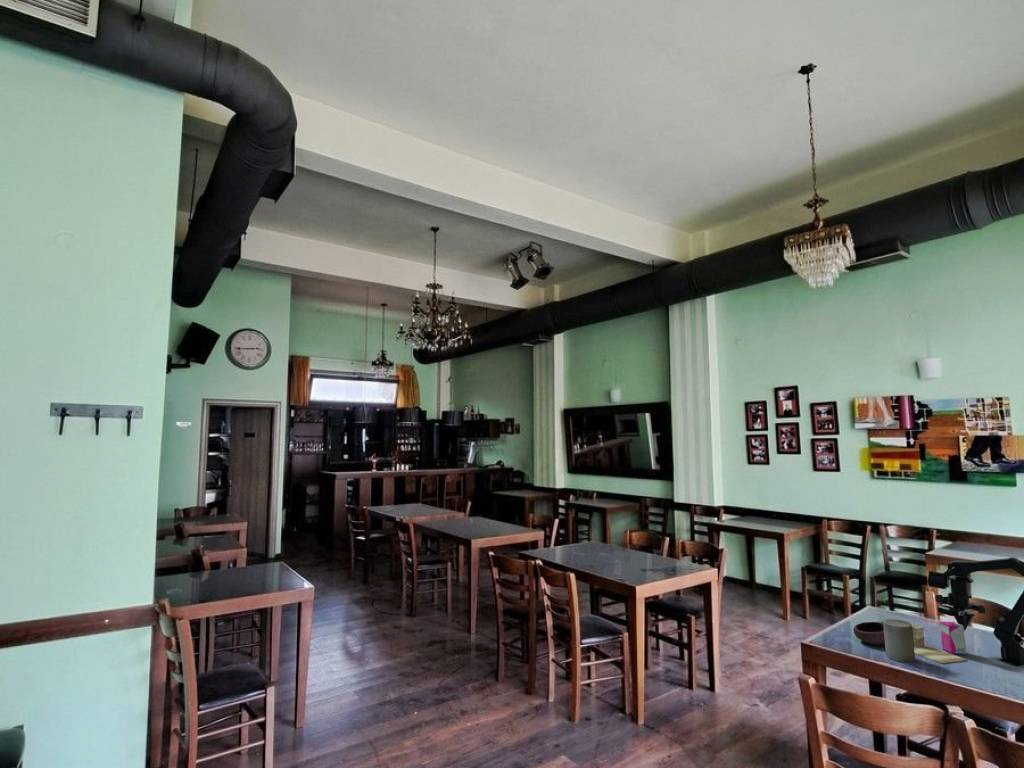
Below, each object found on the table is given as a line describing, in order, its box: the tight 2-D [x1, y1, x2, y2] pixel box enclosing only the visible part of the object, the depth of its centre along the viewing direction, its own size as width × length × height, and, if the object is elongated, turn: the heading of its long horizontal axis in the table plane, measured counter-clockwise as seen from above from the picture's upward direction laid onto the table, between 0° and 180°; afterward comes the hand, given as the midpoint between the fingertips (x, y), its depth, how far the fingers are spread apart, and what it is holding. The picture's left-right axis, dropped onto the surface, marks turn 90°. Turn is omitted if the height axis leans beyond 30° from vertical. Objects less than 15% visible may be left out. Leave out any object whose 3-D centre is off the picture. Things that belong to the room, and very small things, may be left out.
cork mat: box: [914, 645, 968, 665], centre depth 222 cm, size 15×13×1 cm
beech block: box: [911, 623, 926, 648], centre depth 233 cm, size 4×4×8 cm
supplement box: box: [939, 621, 967, 656], centre depth 226 cm, size 6×6×12 cm
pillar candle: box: [882, 618, 916, 663], centre depth 220 cm, size 10×10×15 cm
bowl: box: [853, 620, 885, 646], centre depth 237 cm, size 16×13×8 cm
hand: (963, 630), depth 227 cm, fingers closed
